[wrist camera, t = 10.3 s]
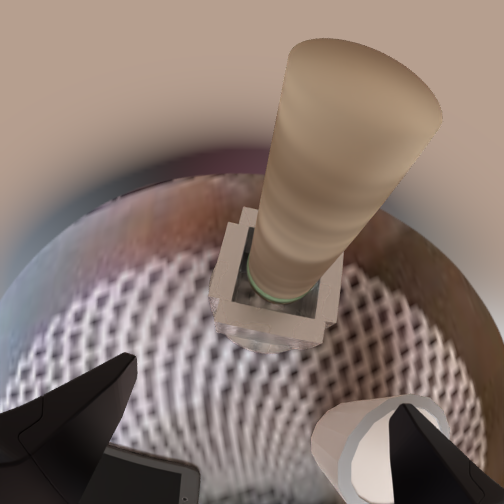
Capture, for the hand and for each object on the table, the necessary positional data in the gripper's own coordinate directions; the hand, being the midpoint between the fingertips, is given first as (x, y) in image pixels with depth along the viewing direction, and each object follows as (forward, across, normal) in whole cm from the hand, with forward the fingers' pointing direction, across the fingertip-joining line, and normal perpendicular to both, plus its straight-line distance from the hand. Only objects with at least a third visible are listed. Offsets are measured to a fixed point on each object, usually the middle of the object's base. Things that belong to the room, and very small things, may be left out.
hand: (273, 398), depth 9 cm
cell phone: (0, +8, +15) cm, 17 cm away
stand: (+12, 0, +3) cm, 12 cm away
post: (+8, 0, -1) cm, 8 cm away
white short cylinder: (+6, -8, +9) cm, 13 cm away
